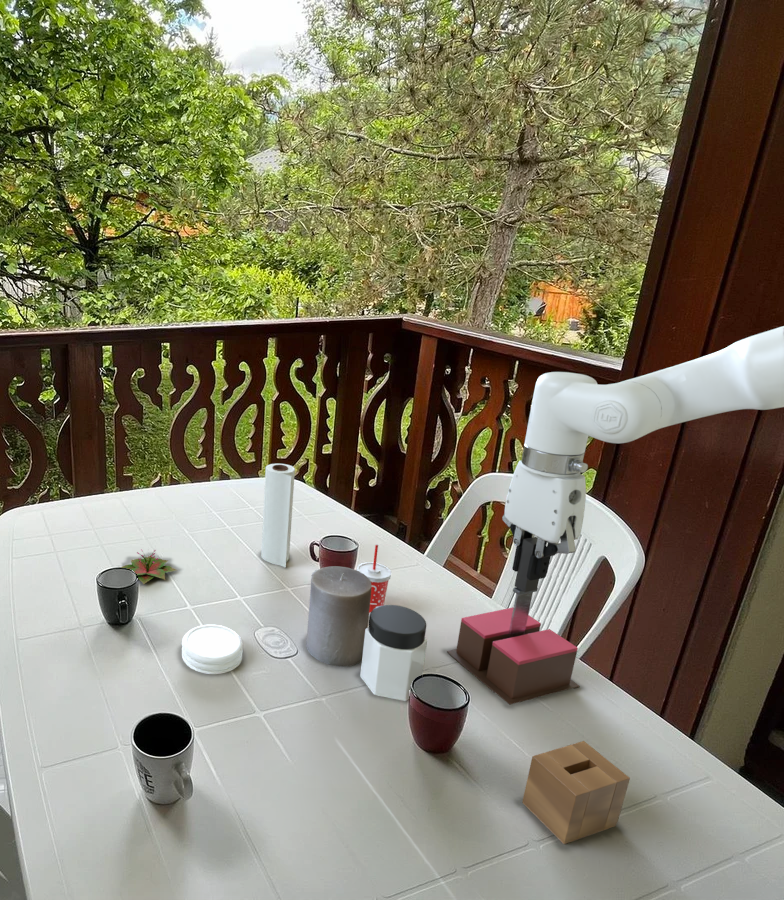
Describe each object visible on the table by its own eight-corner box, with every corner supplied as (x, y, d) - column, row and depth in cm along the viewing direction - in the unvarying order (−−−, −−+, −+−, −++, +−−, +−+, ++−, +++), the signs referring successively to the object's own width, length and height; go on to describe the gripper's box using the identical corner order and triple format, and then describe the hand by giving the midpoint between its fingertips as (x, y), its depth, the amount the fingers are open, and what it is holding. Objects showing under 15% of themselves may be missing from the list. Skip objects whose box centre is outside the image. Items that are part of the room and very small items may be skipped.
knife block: (570, 791, 80) (583, 740, 77) (614, 831, 74) (630, 778, 72) (520, 808, 78) (532, 755, 75) (562, 850, 72) (576, 795, 70)
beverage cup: (345, 610, 119) (351, 542, 115) (367, 600, 122) (374, 534, 118) (370, 626, 114) (378, 556, 110) (393, 615, 118) (401, 547, 113)
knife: (517, 641, 102) (539, 536, 96) (527, 648, 100) (550, 541, 94) (500, 645, 101) (520, 539, 95) (509, 652, 99) (530, 545, 93)
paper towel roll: (263, 551, 142) (268, 461, 135) (291, 555, 140) (297, 464, 133) (257, 566, 135) (261, 471, 128) (285, 571, 133) (291, 475, 127)
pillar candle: (369, 644, 109) (378, 566, 104) (356, 677, 101) (365, 594, 96) (314, 629, 113) (320, 553, 108) (297, 659, 105) (303, 579, 100)
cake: (510, 641, 110) (517, 602, 108) (578, 691, 98) (588, 649, 96) (445, 655, 106) (451, 616, 104) (508, 710, 94) (517, 666, 92)
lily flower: (142, 593, 124) (141, 572, 123) (107, 570, 133) (106, 550, 132) (188, 573, 132) (188, 553, 131) (152, 553, 141) (152, 534, 139)
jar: (381, 661, 105) (388, 597, 101) (427, 685, 99) (438, 618, 95) (350, 685, 99) (357, 618, 95) (398, 712, 93) (407, 642, 89)
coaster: (188, 681, 99) (188, 662, 98) (176, 644, 109) (176, 626, 108) (249, 674, 101) (250, 655, 100) (233, 637, 111) (233, 620, 109)
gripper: (623, 475, 85) (594, 596, 91) (527, 441, 99) (508, 547, 105) (580, 481, 83) (553, 605, 88) (489, 445, 97) (471, 554, 103)
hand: (528, 573), depth 97 cm, fingers closed on knife, 2 cm apart
